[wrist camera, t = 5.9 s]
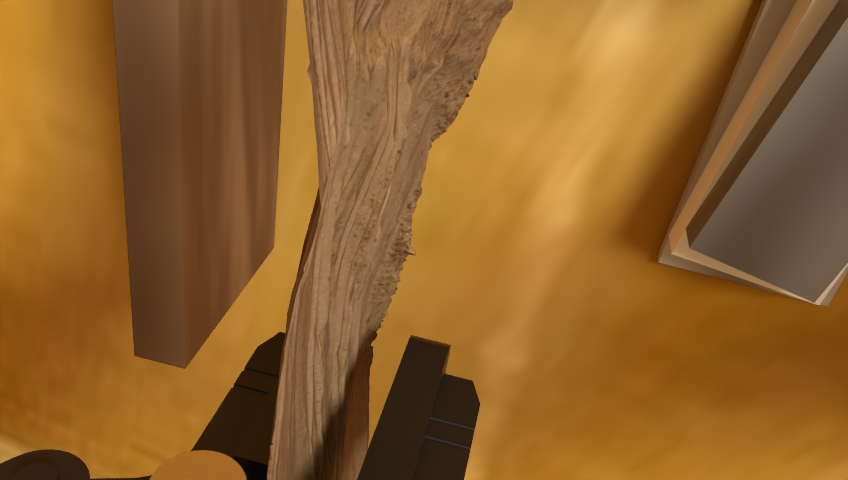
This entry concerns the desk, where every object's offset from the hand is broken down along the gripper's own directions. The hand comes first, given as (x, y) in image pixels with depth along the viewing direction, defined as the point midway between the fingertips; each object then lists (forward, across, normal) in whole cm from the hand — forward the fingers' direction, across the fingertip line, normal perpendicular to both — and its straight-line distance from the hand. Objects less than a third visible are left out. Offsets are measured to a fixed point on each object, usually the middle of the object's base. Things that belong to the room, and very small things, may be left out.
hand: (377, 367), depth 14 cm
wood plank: (+1, 0, 0) cm, 1 cm away
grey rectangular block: (+17, -12, 0) cm, 20 cm away
